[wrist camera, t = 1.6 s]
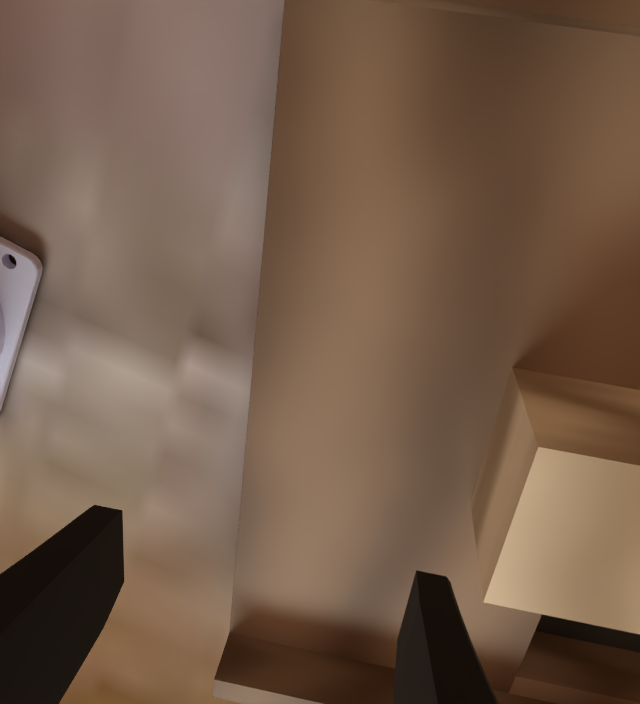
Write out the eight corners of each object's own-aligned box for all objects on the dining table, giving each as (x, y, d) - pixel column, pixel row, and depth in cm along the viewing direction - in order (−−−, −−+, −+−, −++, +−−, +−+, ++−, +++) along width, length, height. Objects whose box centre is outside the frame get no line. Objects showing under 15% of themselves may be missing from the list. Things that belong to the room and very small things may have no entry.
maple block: (470, 502, 19) (483, 602, 16) (511, 367, 17) (538, 446, 13) (627, 533, 19) (678, 642, 15) (691, 399, 17) (767, 489, 13)
